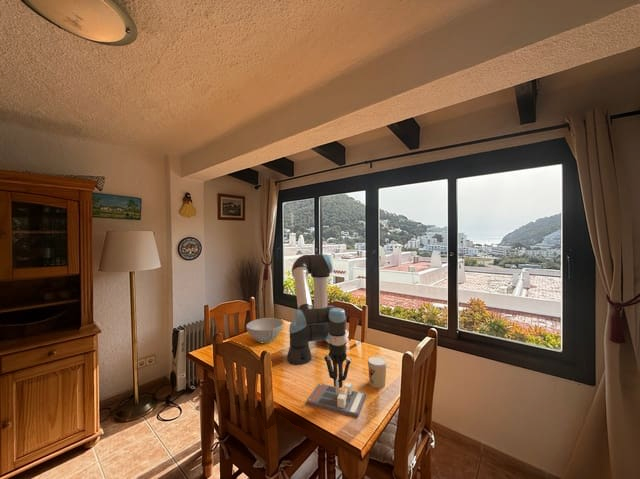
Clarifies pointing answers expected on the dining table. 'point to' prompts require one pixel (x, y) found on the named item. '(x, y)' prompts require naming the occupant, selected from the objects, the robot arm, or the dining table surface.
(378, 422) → the dining table surface
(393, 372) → the dining table surface
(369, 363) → the coffee cup
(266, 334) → the decorative bowl
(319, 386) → the breaker panel
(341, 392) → the breaker toggle
